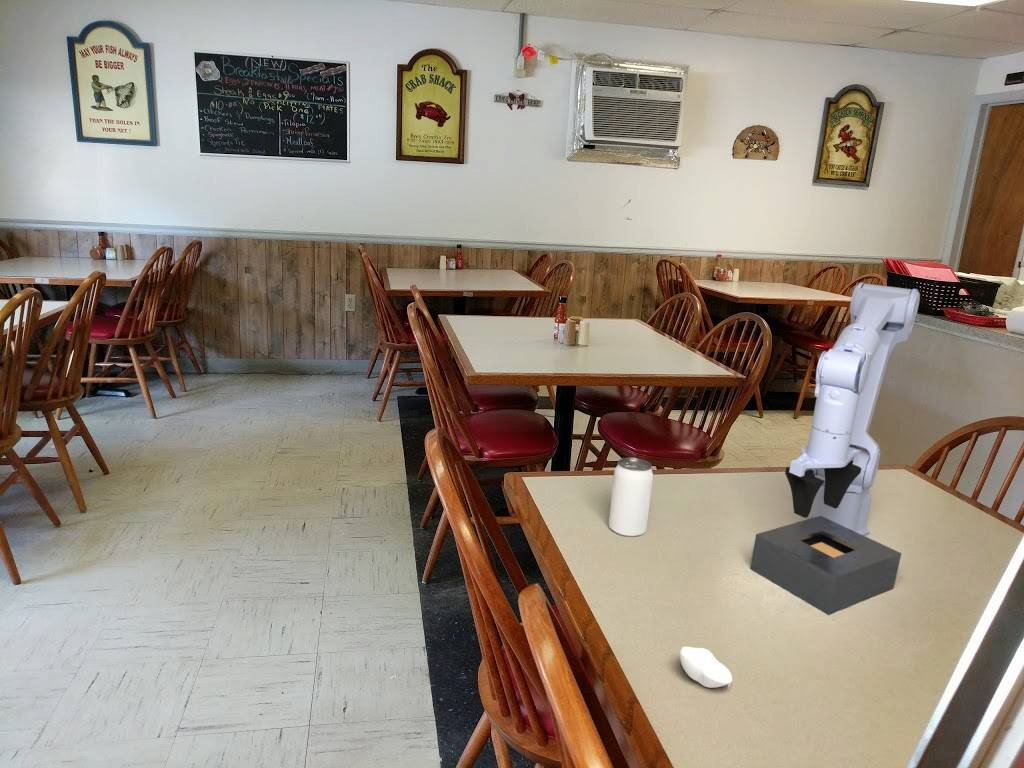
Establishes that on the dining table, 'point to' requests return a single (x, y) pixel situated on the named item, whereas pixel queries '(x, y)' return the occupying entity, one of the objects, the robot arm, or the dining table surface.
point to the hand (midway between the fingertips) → (815, 510)
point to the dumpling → (704, 667)
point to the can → (631, 497)
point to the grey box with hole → (825, 563)
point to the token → (827, 549)
